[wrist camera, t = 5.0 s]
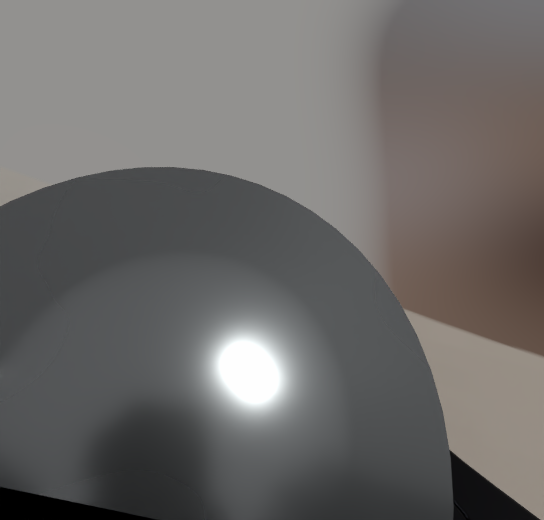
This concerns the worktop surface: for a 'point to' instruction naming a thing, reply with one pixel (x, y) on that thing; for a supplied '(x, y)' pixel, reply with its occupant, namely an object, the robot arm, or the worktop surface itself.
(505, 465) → the worktop surface
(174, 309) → the grey metal cylinder
